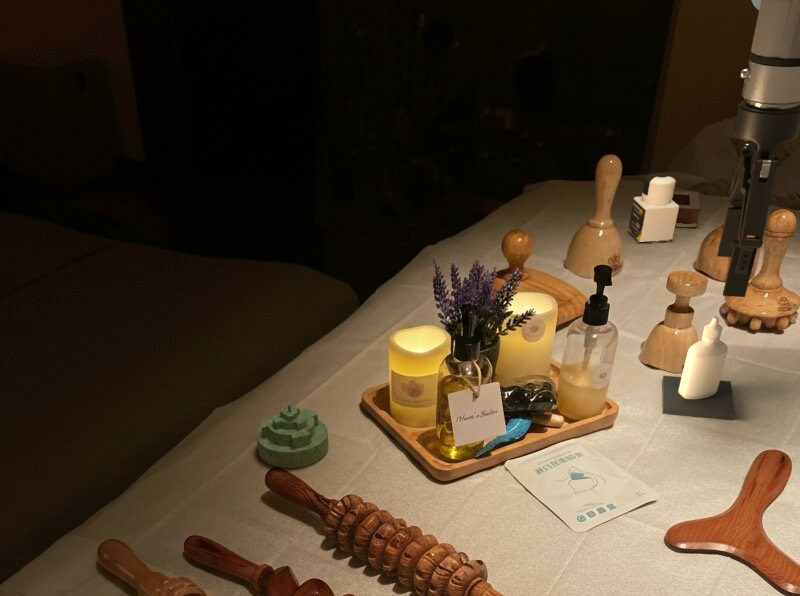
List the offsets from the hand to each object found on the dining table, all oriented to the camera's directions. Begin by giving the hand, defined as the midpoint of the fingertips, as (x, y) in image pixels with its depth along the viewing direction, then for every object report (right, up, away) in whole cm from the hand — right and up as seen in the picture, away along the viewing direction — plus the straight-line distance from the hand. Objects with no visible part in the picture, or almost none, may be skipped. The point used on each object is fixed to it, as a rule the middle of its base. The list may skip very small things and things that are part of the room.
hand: (730, 275), depth 119 cm
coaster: (0, -14, +12) cm, 19 cm away
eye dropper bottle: (0, -14, +12) cm, 18 cm away
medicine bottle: (+9, +31, +63) cm, 71 cm away
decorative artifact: (-60, -23, +5) cm, 65 cm away
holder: (+16, +38, +71) cm, 82 cm away
